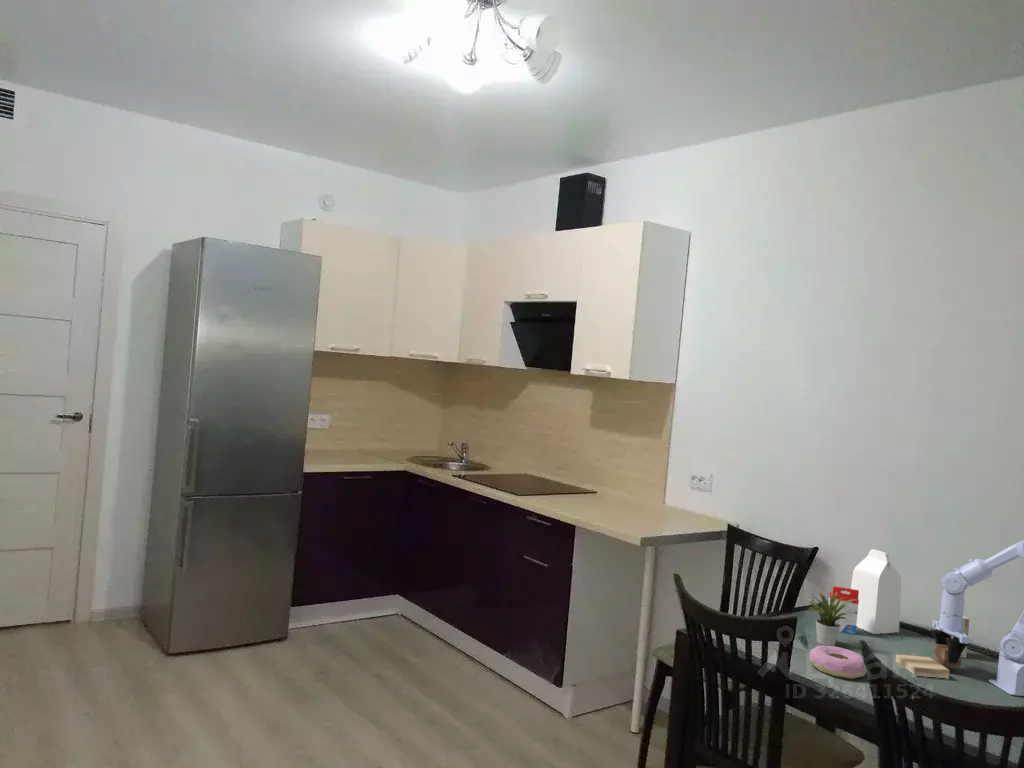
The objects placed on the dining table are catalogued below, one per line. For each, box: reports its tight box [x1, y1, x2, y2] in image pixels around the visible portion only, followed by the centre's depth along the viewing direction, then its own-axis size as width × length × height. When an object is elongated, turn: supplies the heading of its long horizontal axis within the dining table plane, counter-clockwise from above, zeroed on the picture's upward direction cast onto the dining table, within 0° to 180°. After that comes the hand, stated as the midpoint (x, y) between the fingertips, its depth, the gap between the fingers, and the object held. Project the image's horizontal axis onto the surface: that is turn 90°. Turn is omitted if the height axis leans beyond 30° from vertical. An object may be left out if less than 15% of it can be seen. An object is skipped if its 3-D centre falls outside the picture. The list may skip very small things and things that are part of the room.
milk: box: [850, 548, 902, 635], centre depth 258 cm, size 12×12×26 cm
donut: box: [808, 645, 867, 680], centre depth 213 cm, size 16×15×5 cm
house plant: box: [806, 590, 853, 646], centre depth 237 cm, size 14×14×16 cm
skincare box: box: [951, 614, 970, 659], centre depth 237 cm, size 6×4×12 cm
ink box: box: [828, 585, 859, 635], centre depth 251 cm, size 8×5×15 cm, turn 74°
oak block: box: [895, 653, 951, 680], centre depth 219 cm, size 10×10×3 cm
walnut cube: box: [933, 643, 963, 669], centre depth 222 cm, size 5×5×5 cm
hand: (947, 659), depth 222 cm, fingers closed on walnut cube, 5 cm apart
